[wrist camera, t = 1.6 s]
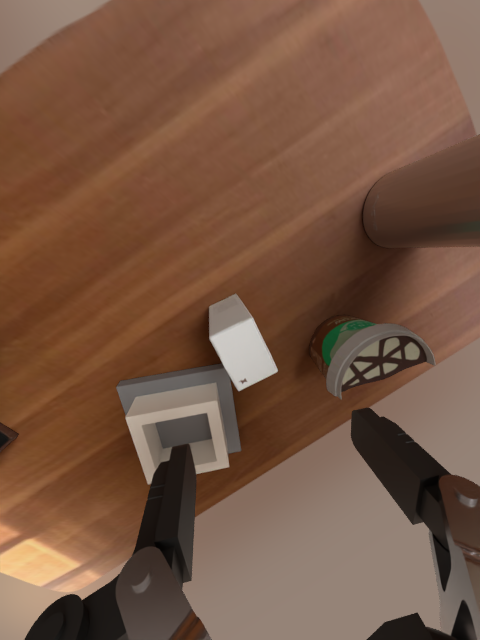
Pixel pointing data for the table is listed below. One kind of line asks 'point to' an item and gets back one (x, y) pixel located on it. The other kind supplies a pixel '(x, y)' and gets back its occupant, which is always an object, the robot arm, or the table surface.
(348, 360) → the food container
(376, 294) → the table surface
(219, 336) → the skincare box
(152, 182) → the table surface
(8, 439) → the letter holder
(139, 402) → the box stand
